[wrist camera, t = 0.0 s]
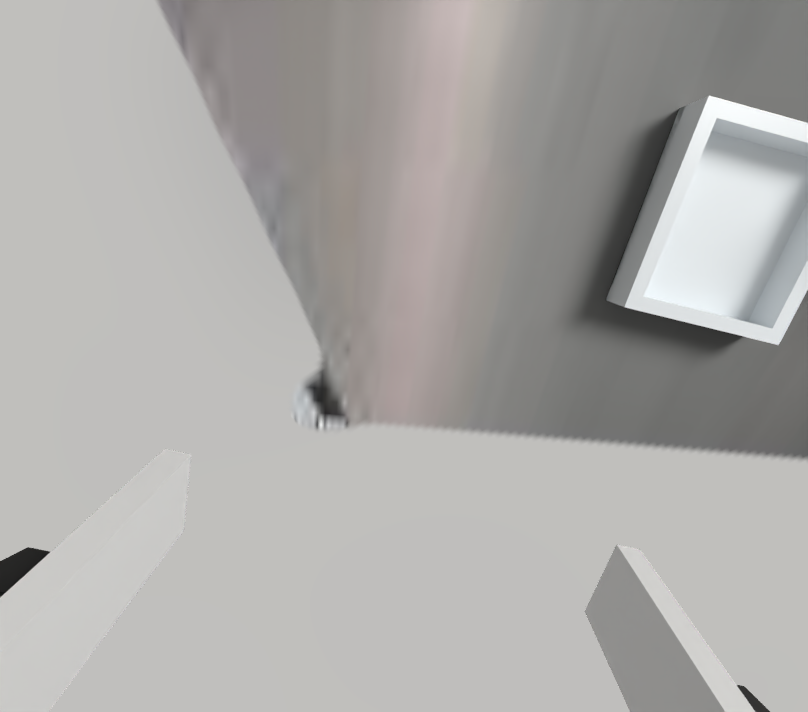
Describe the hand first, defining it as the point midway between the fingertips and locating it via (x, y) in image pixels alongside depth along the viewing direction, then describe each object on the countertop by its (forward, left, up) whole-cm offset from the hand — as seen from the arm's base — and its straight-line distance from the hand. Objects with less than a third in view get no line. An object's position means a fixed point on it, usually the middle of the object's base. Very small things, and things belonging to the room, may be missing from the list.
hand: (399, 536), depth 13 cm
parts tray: (-15, +24, -28) cm, 40 cm away
